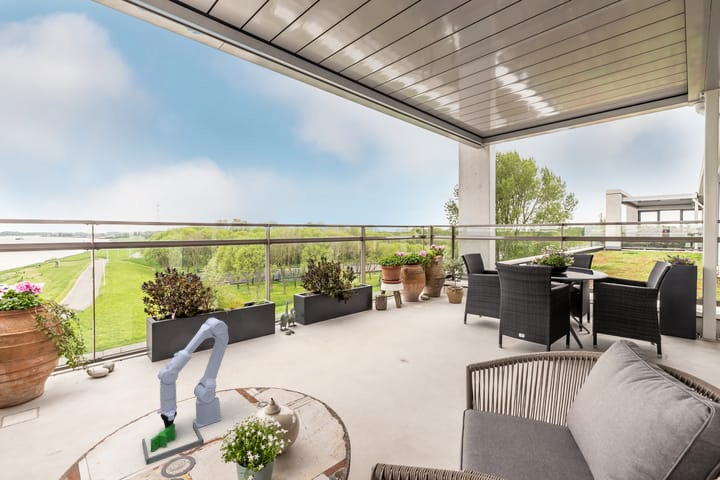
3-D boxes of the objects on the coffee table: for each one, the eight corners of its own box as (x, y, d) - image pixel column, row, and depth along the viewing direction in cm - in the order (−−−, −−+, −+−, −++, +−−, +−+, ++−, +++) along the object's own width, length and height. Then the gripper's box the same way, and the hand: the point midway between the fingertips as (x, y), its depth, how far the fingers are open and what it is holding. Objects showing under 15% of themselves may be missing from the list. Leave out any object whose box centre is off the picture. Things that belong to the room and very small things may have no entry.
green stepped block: (159, 453, 127) (159, 440, 126) (150, 451, 127) (150, 439, 127) (180, 435, 137) (180, 424, 137) (172, 434, 138) (172, 423, 138)
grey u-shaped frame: (194, 426, 144) (194, 422, 144) (203, 444, 131) (203, 439, 131) (142, 443, 132) (142, 439, 132) (146, 464, 120) (146, 459, 120)
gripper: (154, 393, 141) (155, 426, 141) (159, 407, 130) (160, 442, 130) (173, 389, 146) (174, 420, 146) (180, 401, 134) (180, 435, 134)
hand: (169, 430), depth 138 cm, fingers closed
